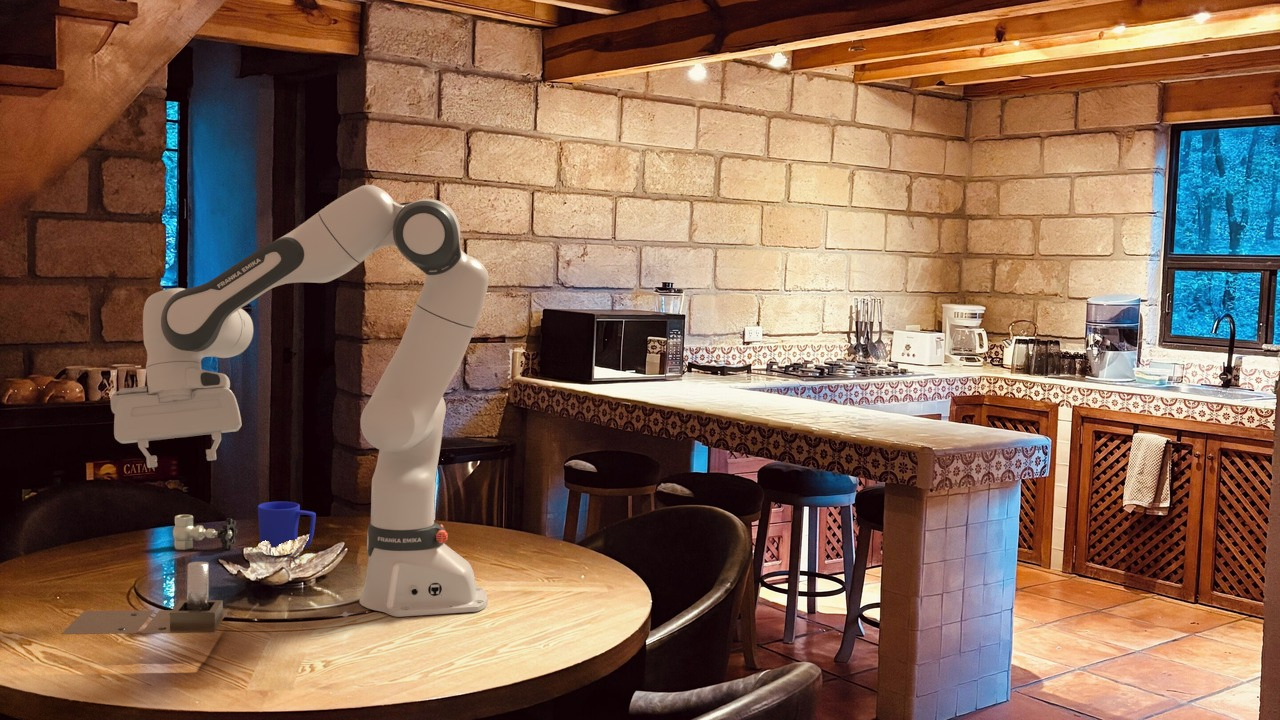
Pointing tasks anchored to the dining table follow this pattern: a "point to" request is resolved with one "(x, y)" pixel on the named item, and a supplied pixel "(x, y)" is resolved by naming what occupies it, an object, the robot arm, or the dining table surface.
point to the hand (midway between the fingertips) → (182, 463)
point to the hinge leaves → (161, 623)
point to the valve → (201, 533)
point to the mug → (282, 522)
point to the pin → (197, 586)
